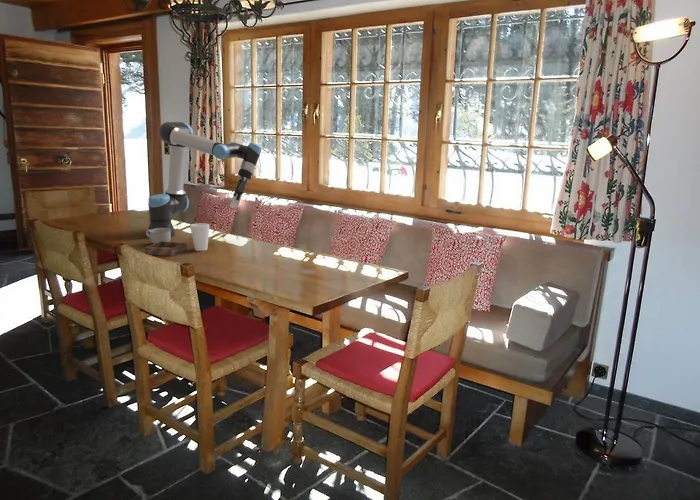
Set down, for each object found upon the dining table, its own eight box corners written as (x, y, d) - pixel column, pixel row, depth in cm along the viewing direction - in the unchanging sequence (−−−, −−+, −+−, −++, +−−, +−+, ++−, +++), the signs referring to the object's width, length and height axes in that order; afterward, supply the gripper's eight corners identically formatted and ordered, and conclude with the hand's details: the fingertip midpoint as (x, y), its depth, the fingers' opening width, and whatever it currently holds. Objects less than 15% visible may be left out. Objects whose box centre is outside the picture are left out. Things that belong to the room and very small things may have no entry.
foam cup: (200, 252, 274) (199, 227, 271) (187, 249, 279) (186, 225, 276) (214, 248, 282) (213, 224, 279) (201, 246, 287) (200, 222, 284)
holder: (145, 254, 269) (144, 247, 268) (161, 247, 282) (161, 241, 282) (171, 256, 265) (170, 249, 265) (186, 249, 279) (186, 243, 278)
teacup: (175, 243, 293) (174, 229, 291) (161, 247, 284) (160, 232, 282) (156, 240, 299) (155, 226, 297) (141, 244, 289) (140, 229, 287)
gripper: (256, 170, 285) (243, 207, 283) (249, 176, 308) (236, 210, 306) (243, 164, 282) (229, 202, 280) (236, 171, 306) (223, 205, 304)
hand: (233, 206), depth 293 cm, fingers open, 13 cm apart
